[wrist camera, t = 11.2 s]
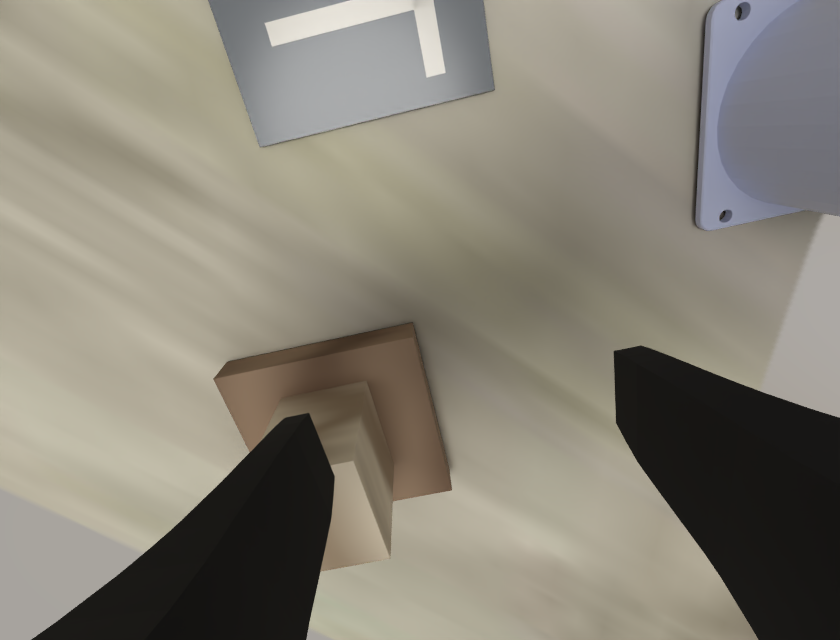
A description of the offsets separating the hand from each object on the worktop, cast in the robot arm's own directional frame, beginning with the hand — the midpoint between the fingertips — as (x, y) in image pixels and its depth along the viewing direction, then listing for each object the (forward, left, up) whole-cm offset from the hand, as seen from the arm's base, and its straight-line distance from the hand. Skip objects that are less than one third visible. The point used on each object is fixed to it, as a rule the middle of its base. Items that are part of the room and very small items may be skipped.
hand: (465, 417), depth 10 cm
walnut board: (+6, +6, -9) cm, 13 cm away
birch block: (+6, +6, -8) cm, 11 cm away
